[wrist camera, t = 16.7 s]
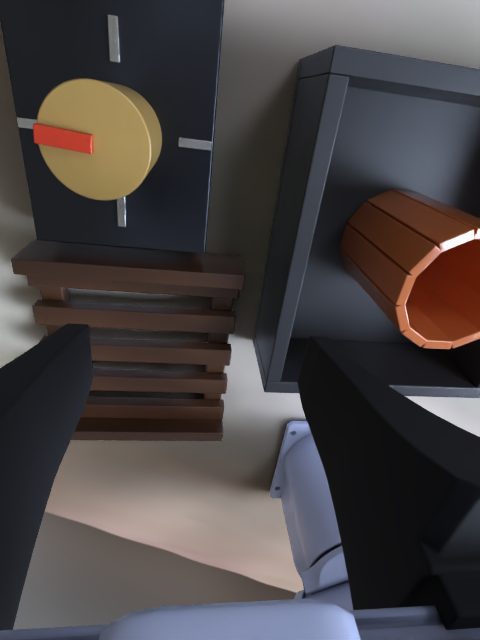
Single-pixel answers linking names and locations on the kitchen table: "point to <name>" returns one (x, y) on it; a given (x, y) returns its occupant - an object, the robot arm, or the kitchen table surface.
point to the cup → (418, 266)
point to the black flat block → (141, 76)
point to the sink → (346, 198)
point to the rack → (145, 277)
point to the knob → (98, 137)
